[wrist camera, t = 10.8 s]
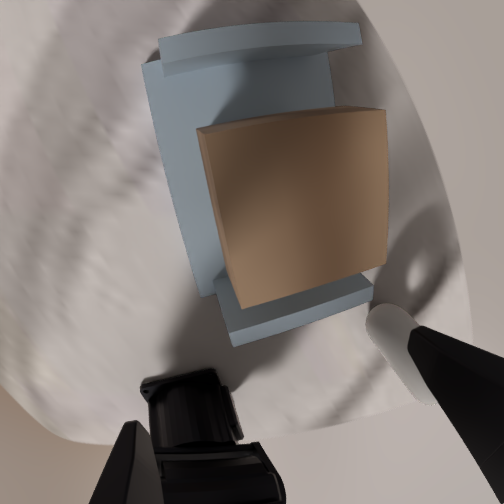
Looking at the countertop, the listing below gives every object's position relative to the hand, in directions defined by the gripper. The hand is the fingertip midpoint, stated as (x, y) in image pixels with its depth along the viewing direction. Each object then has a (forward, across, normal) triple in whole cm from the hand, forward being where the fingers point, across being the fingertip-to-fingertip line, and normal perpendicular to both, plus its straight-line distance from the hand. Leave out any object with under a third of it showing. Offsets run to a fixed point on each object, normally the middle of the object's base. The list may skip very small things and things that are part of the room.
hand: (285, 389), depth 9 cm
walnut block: (+7, -3, -4) cm, 8 cm away
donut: (+12, -12, +12) cm, 21 cm away
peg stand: (+12, -3, -4) cm, 13 cm away
